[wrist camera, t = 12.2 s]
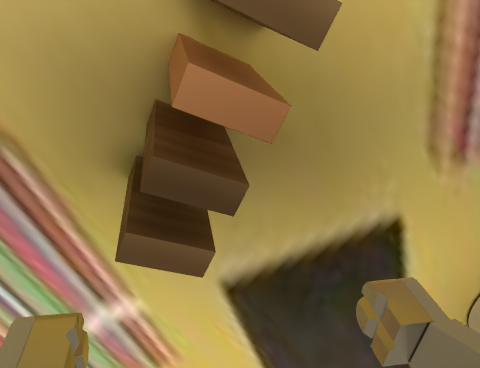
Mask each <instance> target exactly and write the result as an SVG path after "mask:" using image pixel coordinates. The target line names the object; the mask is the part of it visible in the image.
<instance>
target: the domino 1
mask: <svg viewBox="0 0 480 368" xmlns="http://www.w3.org/2000/svg"><path fill="white" fill-rule="evenodd" d="M212 1H214V2H216V3H218V4H220V5H222V6H224V7H226V8H228V9H230V10H232V11H234V12H236V13H238V14H240V15H242V16H244V17H246V18H248V19H250V20H252V21H254V22H256V23H258V24H260V25H262V26H264V27H266V28H269V29H271V30H273V31H275V32H277V33H280V34H282V35H284V36H286V37H288V38H291V39H293V40H295V41H297V42H299V43H302V44H304V45H306V46H308V47H310V48H313V49H315V50H317V51H318V50H319V48H320V46H321V44H322V42H323V40H324V38H325V36H326V34H327V32H328V30H329V28H330V26H331V24H332V22H333V20H334V18H335V16H336V14H337V12H338V11H339V9H340V7H341V5H342V3H341V2H339V1H338V0H212Z"/></svg>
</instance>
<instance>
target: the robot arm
mask: <svg viewBox="0 0 480 368" xmlns="http://www.w3.org/2000/svg"><path fill="white" fill-rule="evenodd" d="M362 292H363V294H364V297H363V298H361V299H360V300H359V301H358V304H357V308H356V314H357V320H358V323H359V326H360V327H361V329H362V331H363V333H365V334H366V335H367V336H369V337H370V338H372V340H371V347H372V349H373V351H374V353H375V354H376V356H377V358H378V360H379V361H380V363H381V365H382V367H383V366H391V365H399V364H407V363H409V366H411V367H412V368H480V297H479V299H478V300H477V301H476V303H475V304H474V306H473V308H472V310H471V312H470V315H469V320H468V324H469V327H467V326H465V325H464V324H462V323H460V322H459V321H457V320H455V319H454V320H450V319H449V318H448V316H447V315H446V314H445V313H444V312H443V311H442V309H441V308H440V307H439V306H438V305H437V303H436V302H435V301H434V300H433V299H432V298H431V296H430V295H429V294H428V293H427V292H426V290H425V289H424V288H423V287H422V286H421V284H420V283H419V282H418V281H417V280H416V279H414V278H412V277H411V278H402V279H390V280H382V281H373V282H367V283H366V284H365V285H364V286H363V289H362ZM83 324H84V319H83V315H82V313H67V314H54V315H41V316H32V317H20V318H16V319H15V320H14V322H13V323H12V324H11V326H10V328H9V331H8V333H7V335H6V337H5V340H4V342H3V344H2V346H1V349H0V368H87V362H88V353H89V342H88V335H87V332H86V331H84V330H82V329H83Z"/></svg>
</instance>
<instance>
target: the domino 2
mask: <svg viewBox="0 0 480 368" xmlns="http://www.w3.org/2000/svg"><path fill="white" fill-rule="evenodd" d="M169 76H170V89H171V101H172V107H173V108H176V109H179V110H182V111H184V112H187V113H190V114H192V115H195V116H198V117H200V118H203V119H206V120H208V121H211V122H214V123H217V124H219V125H222V126H225V127H227V128H230V129H233V130H235V131H238V132H241V133H244V134H246V135H249V136H252V137H254V138H257V139H260V140H262V141H265V142H268V143H271V144H272V142H273V140H274V138H275V136H276V134H277V132H278V130H279V129H280V127H281V125H282V123H283V121H284V119H285V117H286V115H287V113H288V111H289V109H290V107H291V106H290V105H289V104H288V103H287V102H286V101H285V100H284V99H283V98H282V97H281V96H280V95H279V94H278V93H277V92H276V91H275V90H274V89H273V88H272V87H271V86H270V85H269V84H268V83H267V82H266V81H265V80H264V79H263V78H262V77H261V76H260V75H259V74H258V73H257V72H256V71H255V70H254V69H253V68H252V67H251V66H250V65H248V64H245V63H243V62H241V61H239V60H237V59H234V58H232V57H230V56H228V55H226V54H223V53H221V52H219V51H217V50H215V49H212V48H210V47H208V46H206V45H204V44H201V43H199V42H197V41H195V40H193V39H190V38H188V37H186V36H184V35H182V34H179V35H178V38H177V41H176V44H175V47H174V50H173V52H172V55H171V58H170V61H169Z"/></svg>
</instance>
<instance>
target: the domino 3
mask: <svg viewBox="0 0 480 368" xmlns="http://www.w3.org/2000/svg"><path fill="white" fill-rule="evenodd" d="M248 187H249V183H248V181H247V179H246V176H245V174H244V172H243V169H242V167H241V165H240V162H239V160H238V158H237V155H236V153H235V151H234V148H233V146H232V144H231V141H230V139H229V137H228V134H227V132H226V130H225V127H224V126H222V125H219V124H217V123H214V122H211V121H208V120H206V119H203V118H200V117H198V116H195V115H192V114H190V113H187V112H184V111H182V110H179V109H176V108H173V107H172V105H170V104H167V103H165V102H162V101H159V100H157V99H156V100H155V103H154V106H153V109H152V112H151V115H150V117H149V120H148V123H147V128H146V138H145V148H144V158H143V168H142V178H141V188H140V192H143V193H147V194H150V195H154V196H158V197H162V198H166V199H169V200H173V201H177V202H181V203H184V204H188V205H192V206H196V207H200V208H203V209H207V210H211V211H215V212H219V213H222V214H226V215H230V216H234V215H235V213H236V211H237V209H238V207H239V205H240V203H241V201H242V199H243V197H244V195H245V193H246V191H247V189H248Z"/></svg>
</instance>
